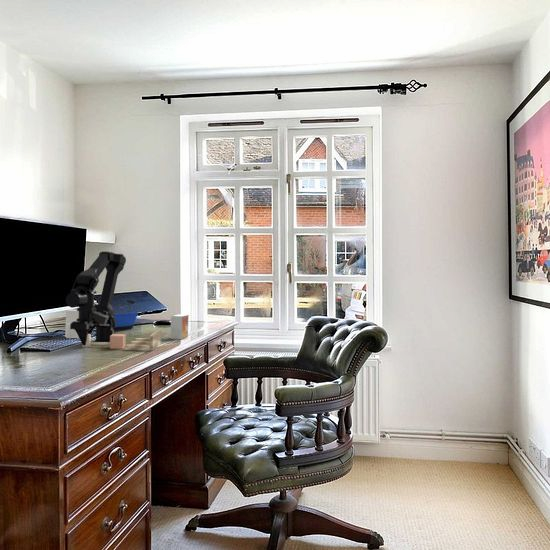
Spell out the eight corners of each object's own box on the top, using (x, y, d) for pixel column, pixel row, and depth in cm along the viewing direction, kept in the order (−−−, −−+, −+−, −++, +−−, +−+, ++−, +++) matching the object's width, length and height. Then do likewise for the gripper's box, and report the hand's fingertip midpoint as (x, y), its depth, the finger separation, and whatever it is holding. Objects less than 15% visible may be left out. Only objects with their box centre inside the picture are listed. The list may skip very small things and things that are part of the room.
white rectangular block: (90, 336, 231) (91, 309, 230) (81, 339, 222) (81, 311, 221) (71, 335, 232) (72, 308, 231) (61, 338, 223) (61, 310, 222)
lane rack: (125, 350, 199) (125, 334, 199) (135, 342, 216) (136, 328, 216) (152, 350, 200) (153, 335, 199) (160, 343, 217) (161, 329, 217)
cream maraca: (80, 347, 201) (80, 335, 200) (83, 345, 205) (84, 333, 205) (122, 348, 202) (122, 336, 202) (125, 346, 207) (125, 334, 207)
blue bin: (121, 327, 263) (122, 309, 263) (138, 330, 255) (139, 311, 255) (95, 330, 250) (95, 311, 250) (112, 333, 243) (112, 313, 242)
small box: (181, 339, 229) (182, 316, 229) (170, 338, 230) (170, 315, 230) (188, 337, 237) (188, 314, 236) (176, 336, 238) (177, 314, 238)
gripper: (99, 308, 194) (98, 349, 194) (113, 303, 212) (112, 341, 213) (70, 307, 193) (69, 348, 194) (86, 303, 212) (85, 340, 212)
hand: (85, 344), depth 203 cm, fingers closed on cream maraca, 3 cm apart
